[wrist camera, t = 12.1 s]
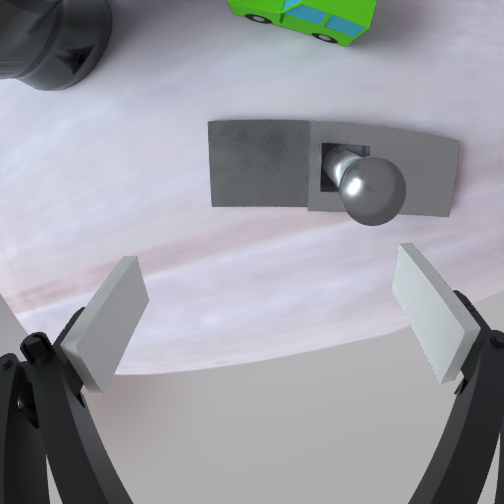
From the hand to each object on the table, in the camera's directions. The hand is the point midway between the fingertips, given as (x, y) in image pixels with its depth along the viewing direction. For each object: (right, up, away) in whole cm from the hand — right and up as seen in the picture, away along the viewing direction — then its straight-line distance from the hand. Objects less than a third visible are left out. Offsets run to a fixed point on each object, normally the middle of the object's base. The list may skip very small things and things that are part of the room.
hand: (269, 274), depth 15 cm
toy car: (+4, +30, +11) cm, 32 cm away
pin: (+9, +11, +19) cm, 24 cm away
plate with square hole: (+9, +11, +19) cm, 24 cm away
